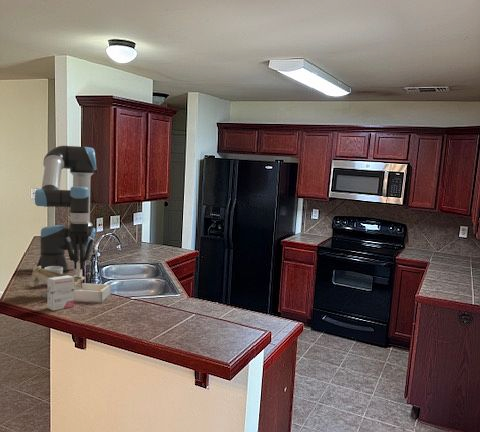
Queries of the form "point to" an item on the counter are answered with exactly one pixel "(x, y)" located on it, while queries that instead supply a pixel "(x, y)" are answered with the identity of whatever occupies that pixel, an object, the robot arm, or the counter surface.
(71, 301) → the ink box
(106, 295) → the dish
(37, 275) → the lever
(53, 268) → the cup
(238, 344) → the counter surface
